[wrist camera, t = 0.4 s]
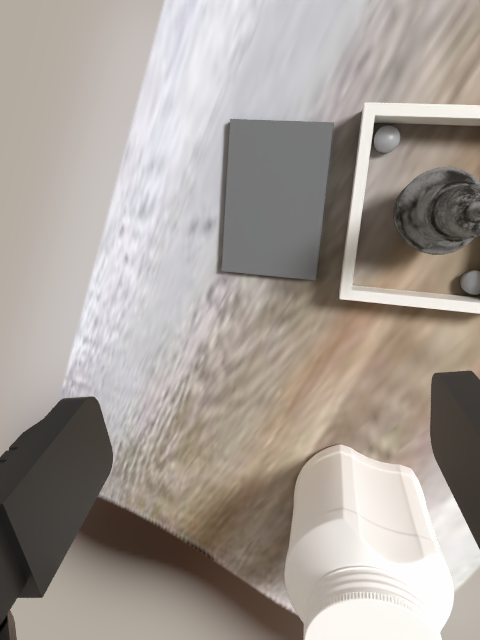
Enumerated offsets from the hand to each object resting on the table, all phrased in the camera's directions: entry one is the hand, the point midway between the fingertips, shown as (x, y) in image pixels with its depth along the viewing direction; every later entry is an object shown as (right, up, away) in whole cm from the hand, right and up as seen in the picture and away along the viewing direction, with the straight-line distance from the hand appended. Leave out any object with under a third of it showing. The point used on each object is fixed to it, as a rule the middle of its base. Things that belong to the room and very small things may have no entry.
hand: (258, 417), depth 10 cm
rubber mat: (+2, +12, +25) cm, 28 cm away
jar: (+11, -14, +30) cm, 35 cm away
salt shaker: (+14, +11, +23) cm, 29 cm away
